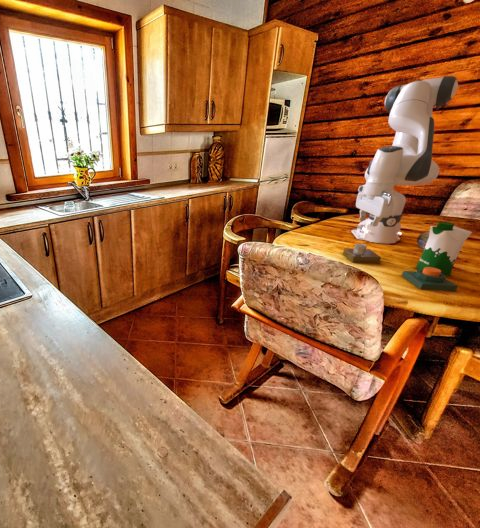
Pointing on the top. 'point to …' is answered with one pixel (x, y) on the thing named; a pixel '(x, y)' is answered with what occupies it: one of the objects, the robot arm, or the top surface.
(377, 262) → the panel
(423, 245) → the tin
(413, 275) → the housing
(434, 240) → the milk carton
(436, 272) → the button
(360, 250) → the knob
